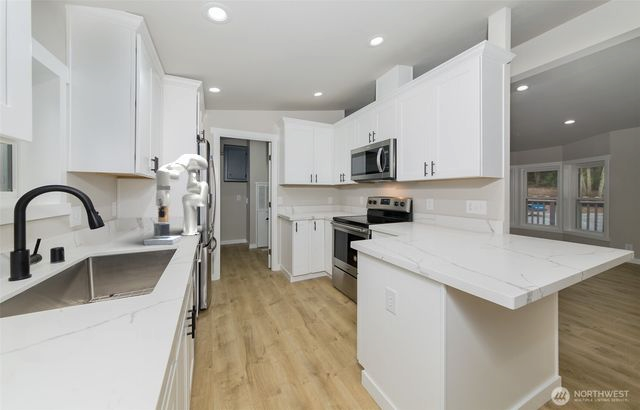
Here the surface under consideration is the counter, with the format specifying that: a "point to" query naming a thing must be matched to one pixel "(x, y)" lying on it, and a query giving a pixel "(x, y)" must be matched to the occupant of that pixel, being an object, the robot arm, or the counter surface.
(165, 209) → the peg
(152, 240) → the socket
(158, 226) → the small box
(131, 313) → the counter surface
